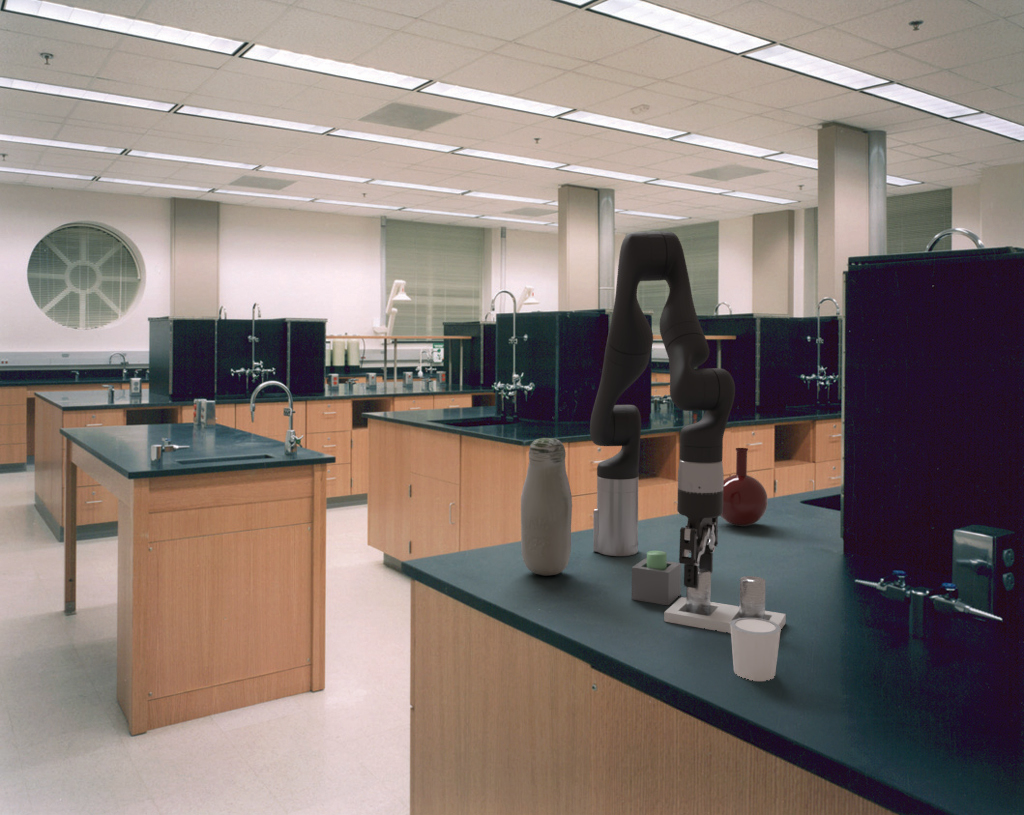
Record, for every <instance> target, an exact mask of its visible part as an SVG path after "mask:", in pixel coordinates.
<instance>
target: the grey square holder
mask: <svg viewBox="0 0 1024 815" xmlns="http://www.w3.org/2000/svg"><path fill="white" fill-rule="evenodd" d="M681 579H682V564H681V563H679V562H677V561H676V562H675V561H668V560H667V568H666V569H665V570H661V569H654V568H647V557H646V558H643V559H642V560H641V561H639V562H637V563H635V565H634V566H632V567H631V600H633V601H639V602H640V601H641V602H645V603H650V604H657V605H663V606H670V605H672V604H671V603H673V602H674V601H675V600H676V599H677V598H678V596H679V597H680V596H681V595H682V594H681V593H682V592H681V591H682V587H681V585H682V583H681V582H682V580H681Z"/></svg>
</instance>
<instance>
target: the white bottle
mask: <svg viewBox="0 0 1024 815" xmlns="http://www.w3.org/2000/svg"><path fill="white" fill-rule="evenodd" d="M529 446H530V447H529V449H528V460H529V462H528V466H527V470H526V476H525V480H524V483H523V487H522V490H521V495H520V536H521V537H520V538H521V539H520V543H521V545H520V546H521V547H520V548H521V556H522V560H523V561H522V562H523V563H524V566H525V567H526V568H527V569H528V570H529V571H530V572H532V573H533V574H536V575H540V576H545V577H547V576H554V575H558V574H560V573H562V572H563V571H564V570H565V569H566V568H567V567H568V564H569V561H570V557H571V552H572V550H571V549H572V514H573V513H572V511H573V497H572V496H573V495H572V492H571V486H570V481H569V478H568V474H567V470H566V469H567V468H566V455H567V452H566V449H565V445H564V444H563V442H562V441H561V440H559V439H557V438H552V437H540V438H537V439H534V440H533V441H532V442H531V443H530V445H529Z"/></svg>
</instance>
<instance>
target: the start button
mask: <svg viewBox="0 0 1024 815" xmlns="http://www.w3.org/2000/svg"><path fill="white" fill-rule="evenodd" d="M646 558H647V568H654V569H661V570H665V569H666V568H667V561H668V559H667V558H668V555H667V552H666V551H663V550H649V551H647V552H646Z"/></svg>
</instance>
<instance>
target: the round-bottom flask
mask: <svg viewBox="0 0 1024 815" xmlns="http://www.w3.org/2000/svg"><path fill="white" fill-rule="evenodd" d="M748 450H749V449H748V448H746V447H735V451H736V459H735V460H736V462H735V463H736V464H735V465H736V466H735V469H736V470H735V472H736V473H735V474H734V475H730V476H727V477H726V478H724V481H723V513H722V515H721V516H720V517H721V519H722V520H724V521H726V522H727V523H728V524H730V525H732V526H737V527H747V526H750V525H754V524H756V523H757V522H758V521H759V520H761V519H762V518H763V516H764V515H765V513H766V511H767V508H768V502H769V499H768V498H769V497H768V494H767V491H766V488H765V487H764V485H763V484H762V483H761V482H760V481H759V480H757V479H756V478H754V477H753V476H751V475H748V474H747V473H748V471H747V470H748V465H747V464H748Z"/></svg>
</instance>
